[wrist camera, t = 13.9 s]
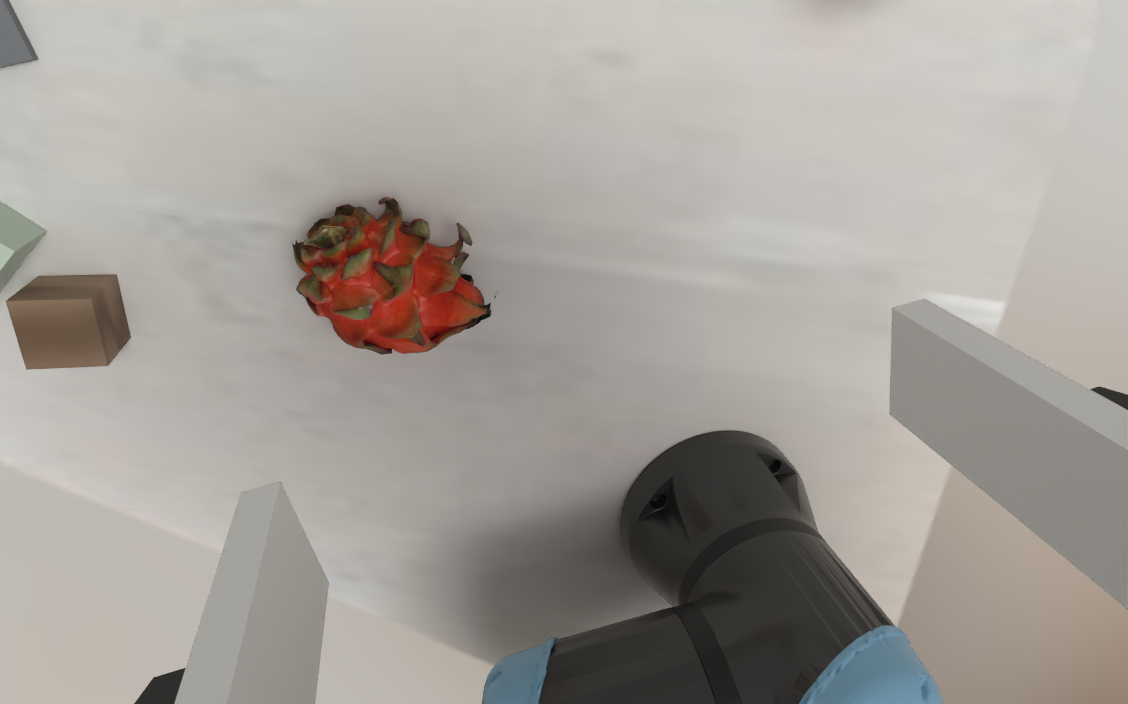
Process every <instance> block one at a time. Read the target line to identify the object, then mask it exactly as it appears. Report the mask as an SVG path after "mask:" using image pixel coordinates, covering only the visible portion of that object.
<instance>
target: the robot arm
mask: <svg viewBox="0 0 1128 704" xmlns="http://www.w3.org/2000/svg"><path fill="white" fill-rule="evenodd" d="M889 414H890V415H891V416H892V417H894V418H895V419H896V420H897V421H898V422H900V423H901V424H902V425H903V426H905V427H906V428H907V429H908V430H909V431H911V432H912V433H913V434H914V435H916V436H917V437H918V438H919V439H920V440H922V441H923V442H924V443H925V444H927V445H928V446H929V447H930V448H931V449H933V450H934V451H935V452H936V453H938V454H939V455H940V456H941V457H942V458H944V459H945V460H946V461H947V462H948V463H950V464H951V465H952V466H953V467H955V468H956V469H957V470H958V471H959V472H961V473H962V474H963V475H964V476H966V477H967V478H968V479H969V480H970V481H972V482H973V483H974V484H975V485H977V486H978V487H979V488H980V489H981V490H983V491H984V492H985V493H986V494H988V495H989V496H990V497H991V498H992V499H994V500H995V501H996V502H997V503H998V504H1000V505H1001V506H1002V507H1003V508H1005V509H1006V510H1007V511H1008V512H1009V513H1011V514H1012V515H1014V517H1016V518H1017V519H1018V520H1019V521H1020V522H1022V523H1023V524H1024V525H1025V526H1026V527H1028V528H1029V529H1030V530H1031V531H1033V532H1034V533H1035V534H1036V535H1038V536H1039V537H1040V538H1041V539H1042V540H1044V541H1045V542H1046V543H1047V544H1048V545H1050V546H1051V547H1052V548H1053V549H1055V550H1056V551H1057V552H1058V553H1059V554H1061V555H1062V556H1063V557H1065V558H1066V559H1067V560H1068V561H1069V562H1070V563H1072V564H1073V565H1074V566H1075V567H1077V568H1078V569H1079V570H1080V571H1081V572H1083V573H1084V574H1085V575H1086V576H1088V577H1089V578H1090V579H1091V580H1092V581H1094V582H1095V583H1096V584H1097V585H1098V586H1100V587H1101V588H1102V589H1103V590H1105V591H1106V592H1107V593H1108V594H1109V595H1111V596H1112V597H1113V598H1114V599H1115V600H1117V601H1118V602H1119V603H1120V604H1122V605H1123V606H1124V607H1125V608H1126V609H1128V395H1127V394H1123V393H1120V392H1116V391H1113V390H1109V389H1106V388H1103V387H1096V388H1093V389H1088V388H1086V387H1085V386H1083V385H1081V384H1079V383H1077V382H1075V381H1074V380H1072V379H1070V378H1068V377H1066V376H1065V375H1063V374H1061V373H1059V372H1057V371H1055V370H1054V369H1052V368H1050V367H1048V366H1046V365H1044V364H1043V363H1041V362H1039V361H1037V360H1035V359H1033V358H1032V357H1030V356H1028V355H1026V354H1024V353H1023V352H1021V351H1019V350H1017V349H1015V348H1013V347H1012V346H1010V345H1008V344H1006V343H1004V342H1003V341H1001V340H999V339H997V338H995V337H993V336H992V335H990V334H988V333H986V332H984V331H982V330H981V329H979V328H977V327H975V326H973V325H972V324H970V323H968V322H966V321H964V320H962V319H961V318H959V317H957V316H955V315H953V314H951V313H950V312H948V311H946V310H944V309H942V308H941V307H939V306H937V305H935V304H933V303H931V302H930V301H928V300H926V299H922V300H918V301H915V302H911V303H908V304H904V305H901V306H897V307H894V308H892V334H891V373H890V412H889ZM621 532H622V538H623V541H624V544H625V547H626V549H627V552H628V554H629V556H630V559H631V561H632V563H633V565H634V567H635V568H636V570H637V572H638V573H639V574H640V576H641V577H642V578H643V579H644V580H645V581H646V582H647V583H648V584H649V585H650V586H651V587H652V588H653V589H654V590H655V591H656V592H657V593H659V594H660V595H661V596H662V597H663V598H664V599H665V600H666V601H667V602H668V603H669V604H670V605H671V606H672V608H667V609H663V610H660V611H656V612H653V613H649V614H646V615H642V616H639V617H635V618H632V619H628V620H625V621H621V622H618V623H614V624H611V625H607V626H604V627H600V628H597V629H593V630H590V631H586V632H583V633H579V634H576V635H572V636H568V637H565V638H561V639H558V637H553V638H550V639H548V641H547V642H546V643H544V644H541V645H539V646H536V647H533V648H530V649H527V650H524V651H522V652H519V653H516V654H513V655H510V656H507V657H505V658H503V659H502V660H500V661H499V662H498V663H497V664H496V665H495V666H494V667H493V669H492V670H491V672H490V673H489V675H488V677H487V680H486V682H485V686H484V691H483V700H482V704H943V701H942V697H941V694H940V691H939V688H938V686H937V684H936V682H935V681H934V679H933V677H932V676H931V674H930V673H929V671H928V670H927V668H926V667H925V665H924V664H923V663H922V661H921V660H920V658H919V657H918V655H917V654H916V652H915V651H914V649H913V648H912V647H911V645H910V642H909V640H908V638H907V636H906V635H905V634H904V632H903V631H902V630H900V629H899V628H897V627H896V626H895V625H894V624H893V623H892V622H891V620H890V619H889V618H888V617H887V615H886V614H885V613H884V612H883V611H882V609H881V608H880V607H879V606H878V605H877V603H876V602H875V601H874V600H873V598H872V597H871V596H870V595H869V594H868V592H867V591H866V590H865V589H864V588H863V586H862V585H861V584H860V583H859V581H858V580H857V579H856V578H855V577H854V575H853V574H852V573H851V572H850V570H849V569H848V568H847V567H846V566H845V564H844V563H843V562H842V561H841V560H840V558H839V557H838V556H837V555H836V553H835V552H834V551H833V550H832V549H831V548H830V546H829V545H828V544H827V543H826V541H825V540H824V539H823V538H822V536H821V535H820V534H819V533H818V530H817V526H816V523H815V520H814V516H813V513H812V510H811V507H810V503H809V500H808V497H807V494H806V490H805V487H804V484H803V482H802V479H801V477H800V476H799V474H798V472H797V470H796V469H795V468H794V466H793V465H792V464H791V463H790V462H789V460H788V459H787V458H786V457H785V456H784V455H783V453H782V452H781V451H780V450H779V449H778V448H777V447H776V446H774V445H773V444H772V443H770V442H769V441H767V440H765V439H763V438H761V437H758V436H756V435H753V434H748V433H743V432H734V431H726V432H715V433H710V434H705V435H701V436H698V437H695V438H692V439H689V440H687V441H685V442H683V443H680V444H679V445H677V446H675V447H673V448H671V449H670V450H668V451H667V452H665V453H664V454H662V455H661V456H660V457H659V458H657V459H656V460H655V461H654V462H653V463H652V464H650V465H649V466H648V467H647V468H646V470H645V471H644V472H643V473H642V474H641V475H640V477H639V478H638V479H637V481H636V482H635V484H634V485H633V487H632V489H631V490H630V492H629V494H628V497H627V499H626V502H625V505H624V508H623V512H622V519H621ZM328 585H329V582H328V579H327V577H326V575H325V573H324V571H323V569H322V567H321V565H320V563H319V561H318V559H317V557H316V554H315V552H314V550H313V548H312V546H311V544H310V542H309V540H308V538H307V536H306V534H305V532H304V530H303V527H302V525H301V523H300V521H299V519H298V517H297V515H296V513H295V511H294V509H293V507H292V505H291V502H290V500H289V498H288V496H287V494H286V492H285V490H284V488H283V486H282V484H281V482H277V483H274V484H270V485H266V486H263V487H259V488H256V489H252V490H249V491H245V492H242V493H241V495H240V498H239V501H238V504H237V507H236V511H235V514H234V517H233V520H232V523H231V526H230V529H229V533H228V536H227V539H226V542H225V545H224V548H223V552H222V555H221V558H220V561H219V565H218V567H217V571H216V574H215V577H214V580H213V583H212V587H211V590H210V593H209V596H208V599H207V602H206V605H205V608H204V612H203V615H202V618H201V621H200V625H199V628H198V631H197V634H196V637H195V640H194V643H193V646H192V650H191V653H190V656H189V659H188V662H187V666H186V668H184V669H180V670H177V671H174V672H171V673H167V674H164V675H161V676H158V677H154V678H153V679H152V681H151V682H150V683H149V685H148V686H147V687H146V689H145V690H144V691H143V693H142V694H141V696H140V697H139V698H138V699H137V701H136V702H135V703H134V704H315V699H316V690H317V681H318V673H319V663H320V655H321V646H322V638H323V629H324V620H325V611H326V603H327V594H328Z"/></svg>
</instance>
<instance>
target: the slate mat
mask: <svg viewBox="0 0 1128 704" xmlns="http://www.w3.org/2000/svg"><path fill="white" fill-rule="evenodd" d="M37 59H38V58H37V56H36V54H35V52H34V50H33V48H32V46H31V44H30V42H29V40H28V38H27V36H26V34H25V32H24V30H23V28H22V26H21V24H20V22H19V20H18V18H17V16H16V14H15V12H14V10H13V8H12V6H11V4H10V2H9V0H0V67H5V66H9V65H14V64H19V63H23V62H28V61H32V60H37Z"/></svg>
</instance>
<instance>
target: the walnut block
mask: <svg viewBox="0 0 1128 704" xmlns="http://www.w3.org/2000/svg"><path fill="white" fill-rule="evenodd" d="M6 304H7V307H8V310H9V314H10V317H11V320H12V323H13V327H14V330H15V333H16V337H17V340H18V343H19V347H20V350H21V353H22V356H23V360H24V363H25V366H26V369H48V368H71V367H95V366H108V365H109V364H110V363H111V361H112V360H113V359H114V358H115V356H116V355H117V354H118V353H119V351H120V350H121V349H122V348H123V346H124V345H125V344H126V343H127V341H128V340H129V339H130V338H131V336H130V331H129V327H128V323H127V318H126V314H125V309H124V305H123V301H122V296H121V292H120V287H119V283H118V279H117V275H67V276H38V277H37V278H36V279H34V280H33V281H32V282H30V283H29V284H28V285H26V286H25V287H24V288H22V289H21V290H20V291H18V292H17V293H16V294H14V295H13V296H12V297H10V298H9V299H8V300H6Z"/></svg>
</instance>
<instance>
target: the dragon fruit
mask: <svg viewBox="0 0 1128 704" xmlns="http://www.w3.org/2000/svg"><path fill="white" fill-rule="evenodd" d="M384 203H385V205H386V209H385V212H384V213H383V215H382V216H381V217H380V219H379V220H377V222H376V220H375V218H374V217H373V216H372V215H371V214H370V213H368V212H367V210H366V209H365V208H363V207H357V208H355V207H353V206H351V205H343V206H340V207H337V209H336V212H335V216H334V217H332V218H331V219H320V220H319V221H318V222H316V223H315V224H314V225H313V227H312V228H311V229H310V230H309V232H308V234H307V236H308V238H309V239H307V240H306V241H305V242H301V243H298V244H297V240H296V244H295V245H293V248H294V256H295V261H296V263H297V265H298V267H299V268H300V269H302V270H303V271H305V272H306V273H308V275H306V276H305V277H303V278H302V279H301V280H300V282H299V285H298V286H297V288H296V290H297V291H298V292H299V293H300V294H302V295H303V296H304V297H305V299H306V301H307V303H308V305H309V306H310V308H311V309H312V311H313V312H314V313H315V314H316V315H318V316H324V317H327V318H329V319H330V321H331V322H332V324H333V328H334V330H335V332H336V333H337V334H338V336H339V337H340V338H341V339H342V340H343V341H344V342H345V343H347V344H349V345H351V346H353V347H356V348H361V349H368V350H372V351H374V352H377V353H379V354H389V353H392V349H393V350H395V351H397V352H399V353H403V354H406V353H420V352H426V351H429V350H431V349H432V348H434V347H436V346H437V345H438V344H440V343H441V342H442V341H443V340H445V339H446V338H448V337H449V336H451V335H455V334H457V333H460V332H461V331H463V330H464V329H469V328H471V327H473V326H475V325H476V324H478V323H479V322H480V321H481V320H483V319H486V318H488V317H490V316H491V310H492V309H491V310H490V304H491V303H489V304H488V305H484V298H483V296H482V294H481V292H480V290H479V289H478V288H477V287H475V286H474V285H473V282H474V281H473V279H472V277H471V276H470V275H467V274H462V273H461V272H460V271H459V270H460V268H461V266H462V264H463V263H464V262H465V260H466V259H467V258H468V256H469V254H467V253H465V252H461V250H462V247H463V241H464V242H465V243H466V244H468V245H470V246H471V245H472V240H471V238H470V236H469V234H468V232H467V231H466V229H465V228H464V227H463V226H461V225H460V224H459V223H457V226H458V231H459V240H458V241H457V242H456V243H455V244H454V245H453V246H449V247H442V248H438V247H436V246H433V245H431V244H429V243H427V242H428V240H429V236H430V235H429V227H428V222H426V221H425V220H423V219H415V220H413V221H412V222H411V223H409V222H402V211H401V209H400V207H399V205H398V202H397V201H396V200H395V199H394V198H383V199H381V200H380V201H379V204H384ZM292 244H293V243H292ZM460 252H461V253H460ZM454 257H456V258H455V261H454V265H453V264H452V263H451V260H452V259H453V258H454ZM496 295H497V294H496ZM495 297H496V296H495Z"/></svg>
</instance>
